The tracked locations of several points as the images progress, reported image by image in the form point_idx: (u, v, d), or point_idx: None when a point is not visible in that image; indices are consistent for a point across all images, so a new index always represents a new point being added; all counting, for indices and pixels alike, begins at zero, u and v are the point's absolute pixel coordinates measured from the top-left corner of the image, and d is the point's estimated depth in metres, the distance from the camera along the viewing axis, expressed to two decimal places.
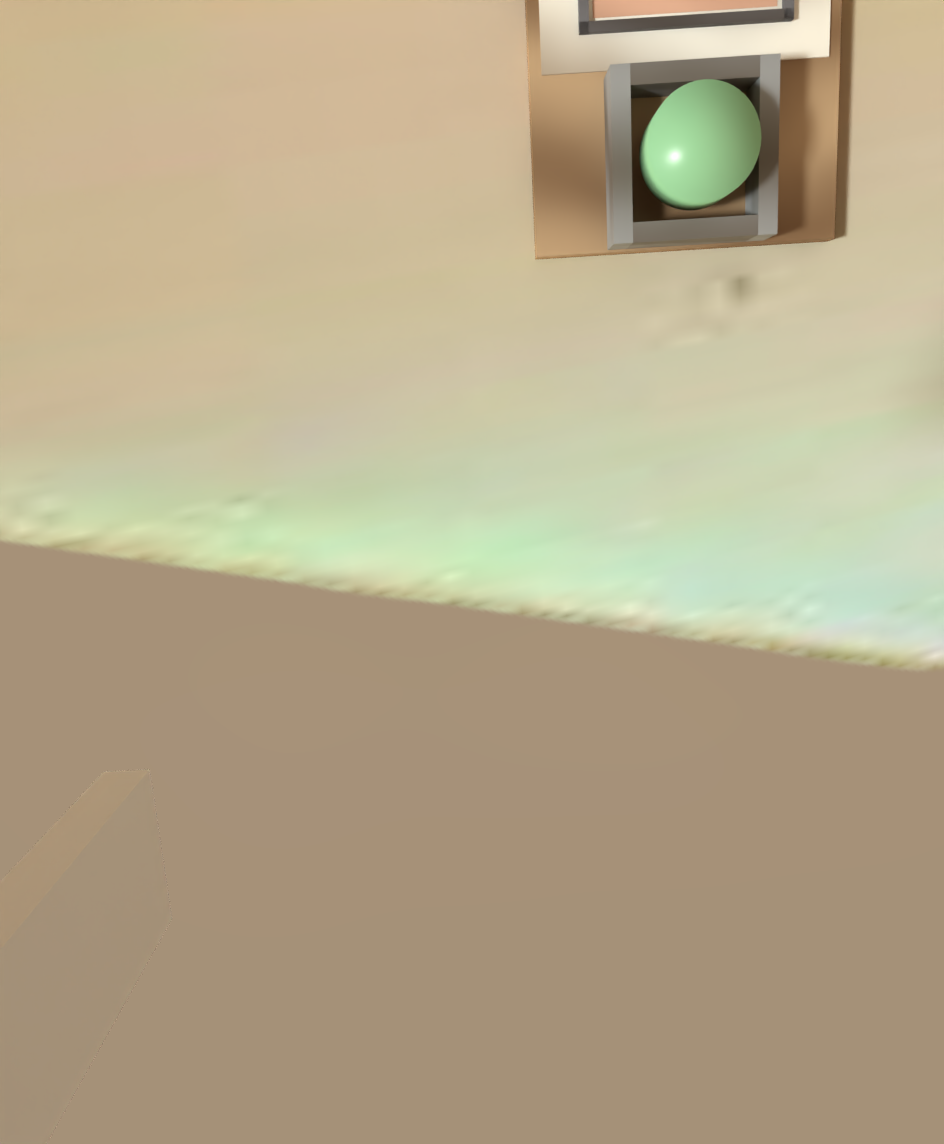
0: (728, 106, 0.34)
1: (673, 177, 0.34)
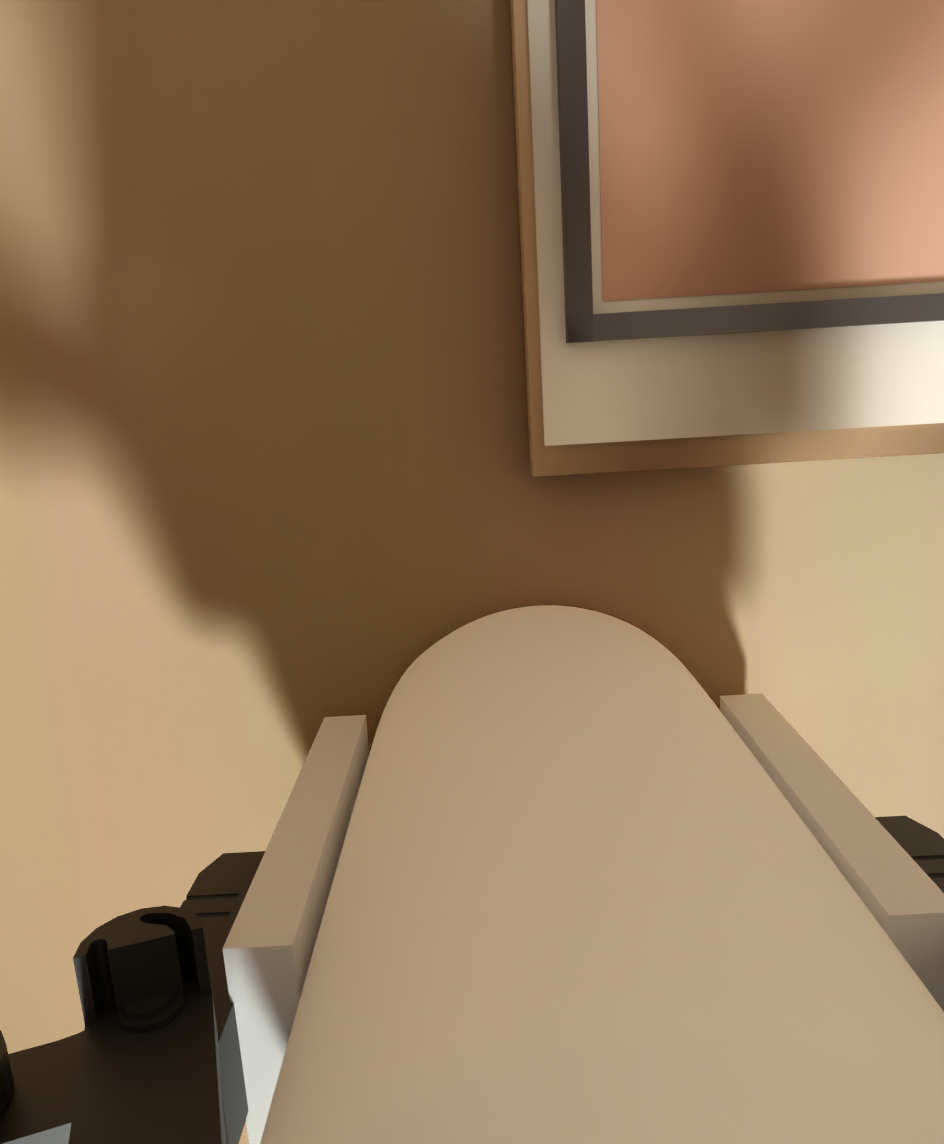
0: None
1: None
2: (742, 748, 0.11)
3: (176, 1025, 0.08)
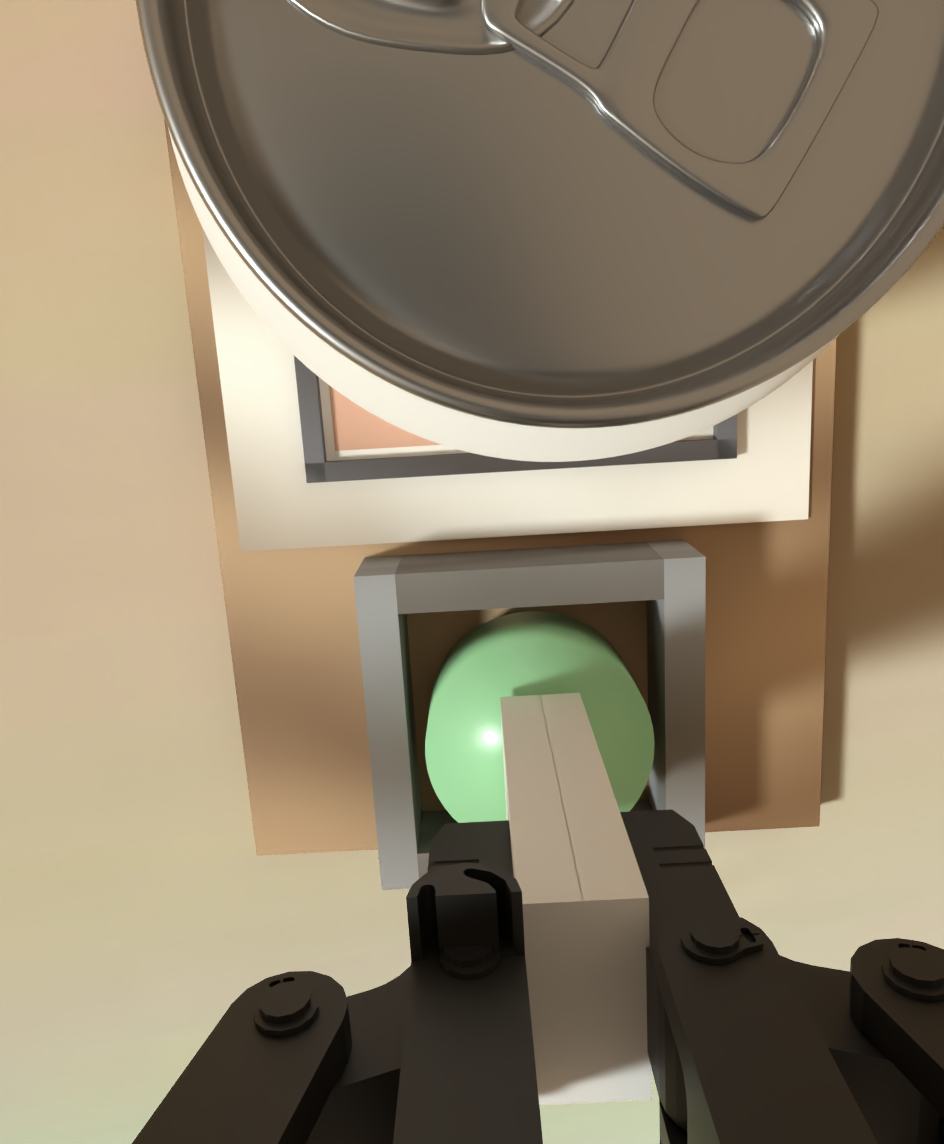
0: (586, 688, 0.16)
1: (479, 812, 0.17)
2: None
3: (492, 979, 0.09)
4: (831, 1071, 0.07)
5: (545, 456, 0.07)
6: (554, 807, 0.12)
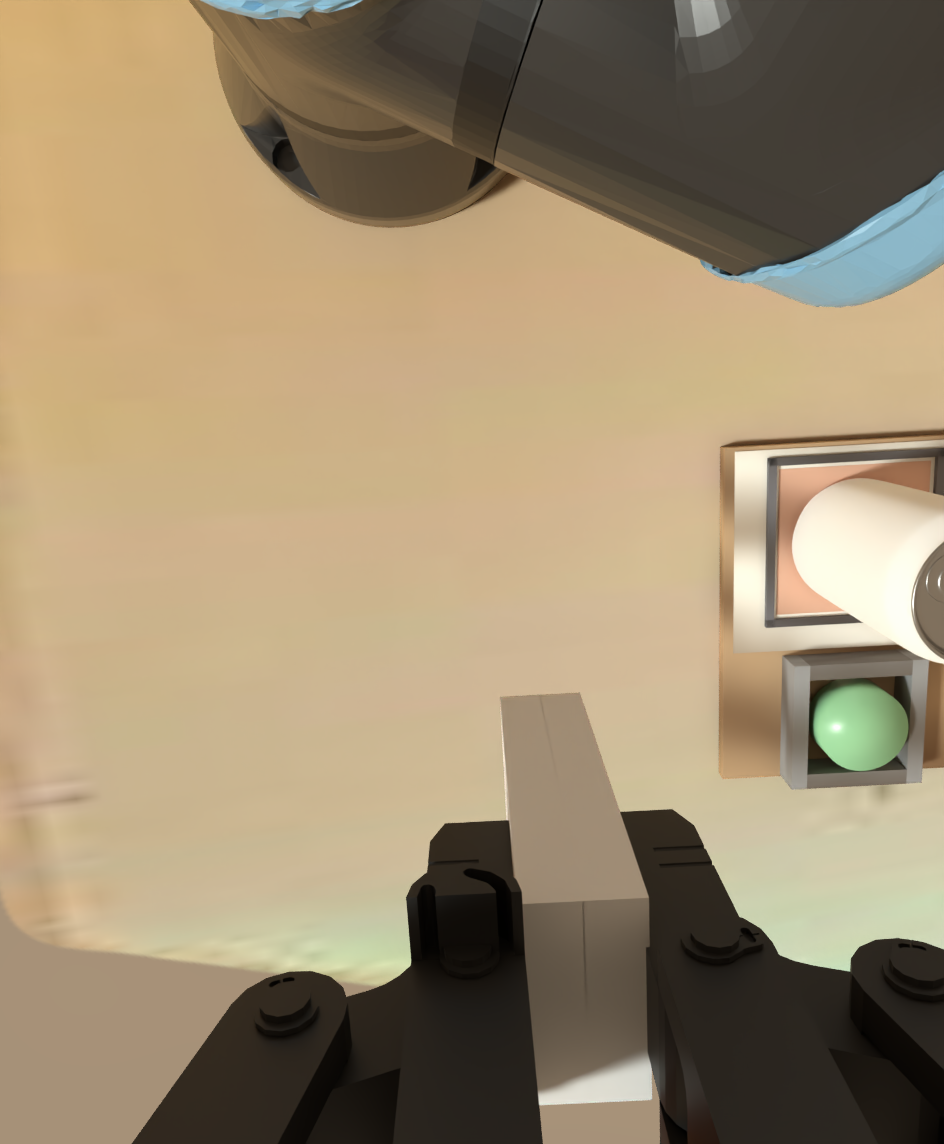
0: (884, 707, 0.44)
1: (839, 755, 0.44)
2: None
3: (493, 979, 0.09)
4: (831, 1071, 0.07)
5: None
6: (554, 807, 0.12)
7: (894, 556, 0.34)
